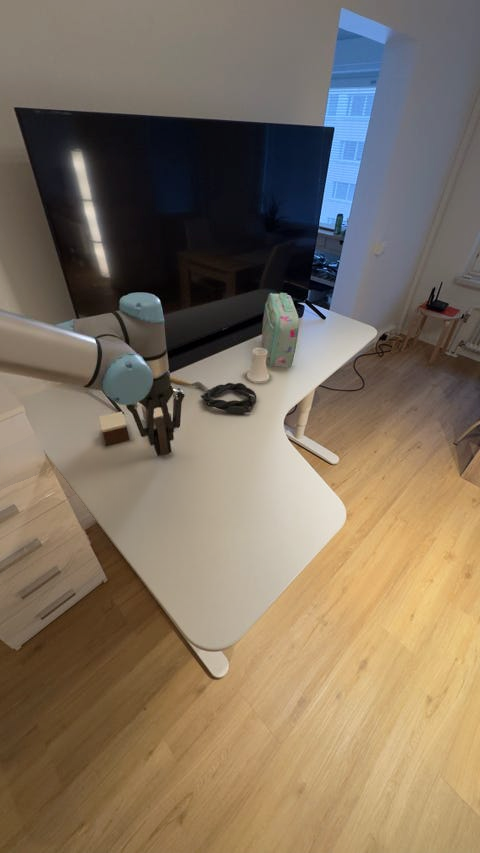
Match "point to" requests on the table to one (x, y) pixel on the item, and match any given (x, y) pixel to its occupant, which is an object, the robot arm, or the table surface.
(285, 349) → the lunch box
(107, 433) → the cake
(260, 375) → the vase
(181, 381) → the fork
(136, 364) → the robot arm
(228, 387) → the cable
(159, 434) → the long brown beam
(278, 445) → the table surface
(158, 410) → the cake slice
